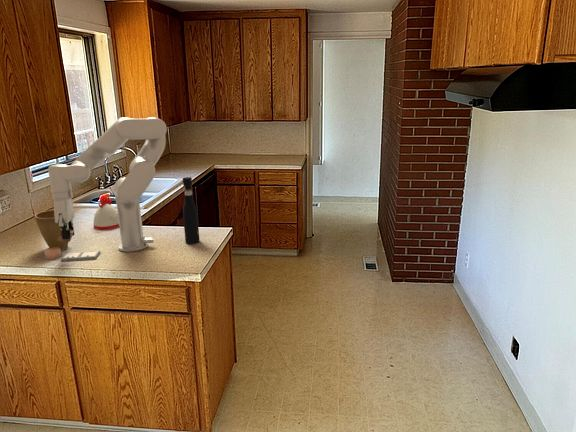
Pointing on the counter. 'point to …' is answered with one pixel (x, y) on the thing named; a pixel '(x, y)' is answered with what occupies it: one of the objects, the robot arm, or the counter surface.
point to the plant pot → (49, 229)
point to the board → (80, 256)
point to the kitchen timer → (106, 216)
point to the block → (66, 239)
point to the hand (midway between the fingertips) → (68, 236)
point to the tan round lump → (52, 253)
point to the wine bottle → (190, 214)
